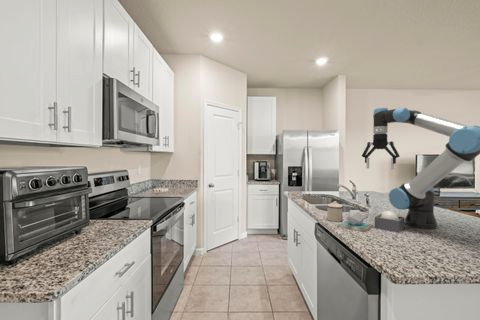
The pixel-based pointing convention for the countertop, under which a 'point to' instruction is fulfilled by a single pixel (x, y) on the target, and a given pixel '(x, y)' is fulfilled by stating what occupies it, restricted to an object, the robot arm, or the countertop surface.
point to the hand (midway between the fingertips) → (379, 168)
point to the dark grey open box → (389, 224)
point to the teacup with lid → (334, 212)
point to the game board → (355, 226)
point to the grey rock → (355, 217)
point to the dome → (390, 215)
